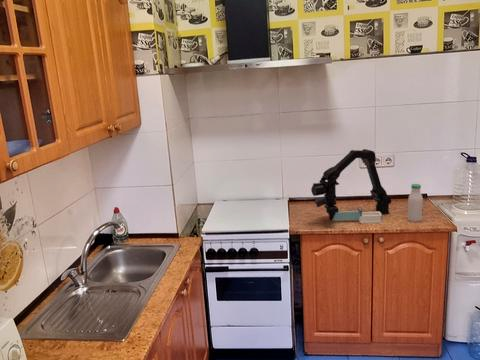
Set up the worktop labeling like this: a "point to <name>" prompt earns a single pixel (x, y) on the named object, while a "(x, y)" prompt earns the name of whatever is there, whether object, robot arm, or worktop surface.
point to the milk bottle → (415, 204)
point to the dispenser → (370, 217)
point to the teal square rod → (346, 215)
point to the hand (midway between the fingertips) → (330, 219)
